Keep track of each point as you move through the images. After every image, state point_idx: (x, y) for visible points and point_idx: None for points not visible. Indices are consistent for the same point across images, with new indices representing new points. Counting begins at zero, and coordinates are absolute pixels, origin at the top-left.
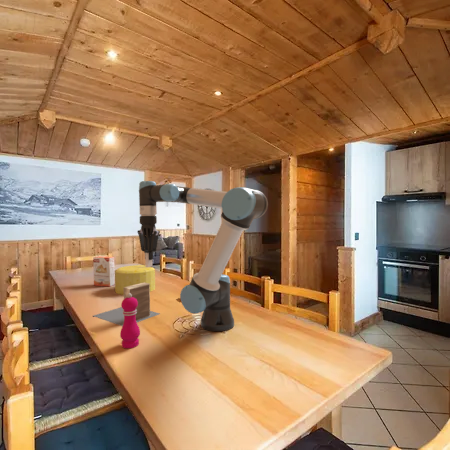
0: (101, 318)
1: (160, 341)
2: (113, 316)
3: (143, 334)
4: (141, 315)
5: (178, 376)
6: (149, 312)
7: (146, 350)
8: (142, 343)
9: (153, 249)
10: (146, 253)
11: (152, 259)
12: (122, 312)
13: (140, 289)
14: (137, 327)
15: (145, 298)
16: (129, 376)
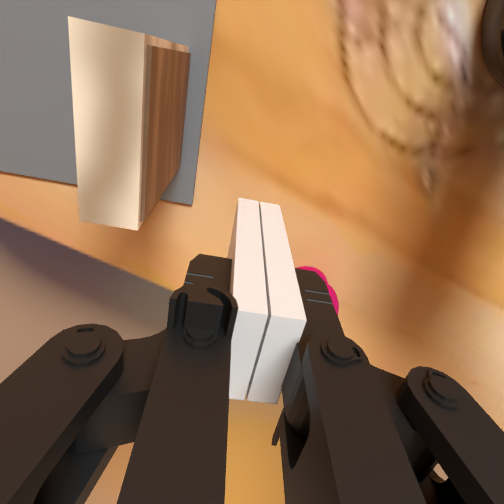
0: (27, 173)
1: (376, 238)
2: (44, 132)
3: (293, 219)
4: (183, 110)
5: (486, 342)
6: (188, 55)
7: (365, 291)
8: (330, 267)
9: (437, 461)
10: (248, 392)
11: (315, 274)
12: (21, 65)
13: (152, 137)
14: (337, 312)
15: (170, 86)
16: (389, 370)
